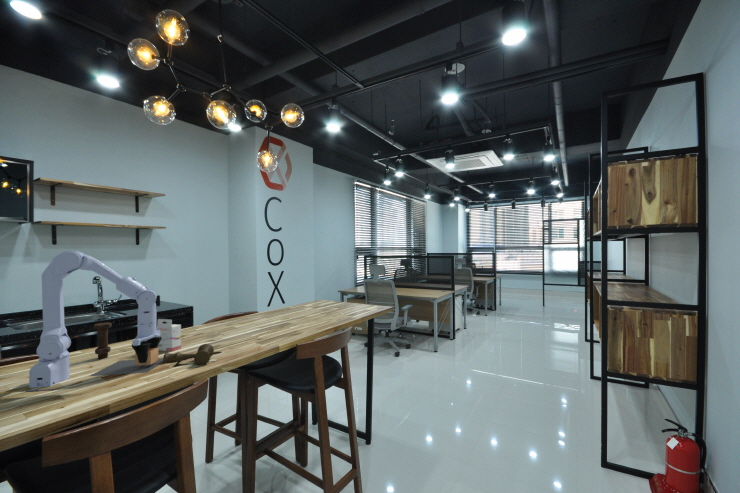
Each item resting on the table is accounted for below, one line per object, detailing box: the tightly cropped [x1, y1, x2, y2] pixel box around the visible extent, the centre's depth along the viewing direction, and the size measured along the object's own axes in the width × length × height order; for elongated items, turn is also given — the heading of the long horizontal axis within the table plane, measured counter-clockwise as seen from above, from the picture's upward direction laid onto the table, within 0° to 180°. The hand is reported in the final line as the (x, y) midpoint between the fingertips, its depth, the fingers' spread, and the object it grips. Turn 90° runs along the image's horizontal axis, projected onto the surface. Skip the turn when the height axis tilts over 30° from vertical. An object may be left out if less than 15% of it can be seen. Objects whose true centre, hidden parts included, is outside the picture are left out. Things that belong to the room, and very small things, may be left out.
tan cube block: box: [134, 348, 159, 366], centre depth 119 cm, size 5×5×4 cm
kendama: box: [162, 343, 222, 366], centre depth 126 cm, size 6×10×20 cm
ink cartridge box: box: [156, 318, 182, 352], centre depth 140 cm, size 9×5×15 cm, turn 73°
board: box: [89, 357, 164, 377], centre depth 118 cm, size 16×18×6 cm
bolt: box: [93, 322, 113, 360], centre depth 129 cm, size 6×5×15 cm
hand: (147, 360), depth 119 cm, fingers closed on tan cube block, 5 cm apart
